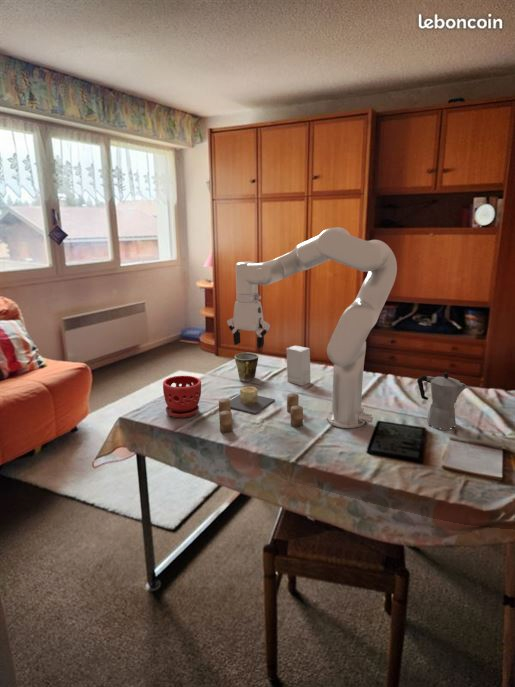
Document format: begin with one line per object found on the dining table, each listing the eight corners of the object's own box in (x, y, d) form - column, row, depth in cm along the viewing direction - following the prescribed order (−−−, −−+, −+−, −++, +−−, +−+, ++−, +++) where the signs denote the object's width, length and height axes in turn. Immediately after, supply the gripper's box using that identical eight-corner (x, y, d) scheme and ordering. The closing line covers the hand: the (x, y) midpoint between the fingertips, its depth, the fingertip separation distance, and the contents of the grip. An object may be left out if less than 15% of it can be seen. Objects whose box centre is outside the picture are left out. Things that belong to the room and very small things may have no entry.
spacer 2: (234, 429, 149) (234, 412, 147) (227, 434, 145) (227, 416, 144) (224, 426, 151) (224, 409, 149) (217, 431, 147) (216, 414, 146)
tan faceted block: (247, 397, 172) (247, 385, 171) (259, 400, 170) (259, 388, 168) (238, 403, 167) (237, 390, 166) (250, 406, 164) (250, 393, 163)
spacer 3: (300, 410, 162) (300, 394, 161) (295, 414, 159) (295, 398, 157) (290, 408, 164) (290, 392, 163) (285, 412, 161) (285, 396, 159)
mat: (274, 400, 171) (274, 399, 171) (255, 414, 159) (255, 412, 159) (243, 393, 178) (243, 392, 178) (222, 406, 166) (222, 404, 166)
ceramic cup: (234, 375, 198) (233, 353, 196) (257, 374, 200) (257, 352, 197) (236, 385, 186) (235, 362, 183) (260, 384, 187) (260, 361, 184)
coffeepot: (465, 423, 151) (471, 372, 146) (458, 434, 143) (465, 380, 138) (418, 412, 159) (422, 363, 154) (409, 422, 152) (414, 371, 147)
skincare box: (310, 382, 189) (311, 348, 184) (301, 386, 184) (301, 351, 180) (295, 377, 194) (295, 344, 190) (285, 381, 190) (286, 347, 186)
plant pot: (187, 423, 153) (185, 390, 150) (157, 415, 159) (154, 383, 156) (209, 409, 164) (208, 377, 161) (180, 402, 170) (178, 372, 167)
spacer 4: (304, 423, 152) (305, 407, 150) (299, 428, 149) (299, 411, 147) (293, 421, 154) (294, 404, 152) (288, 425, 151) (288, 408, 149)
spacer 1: (233, 416, 158) (232, 400, 157) (226, 420, 155) (226, 404, 153) (223, 413, 160) (223, 397, 158) (216, 418, 157) (216, 401, 155)
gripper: (274, 298, 156) (275, 346, 161) (232, 294, 165) (234, 340, 170) (263, 301, 150) (264, 351, 155) (220, 297, 159) (222, 345, 164)
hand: (248, 345), depth 162 cm, fingers open, 9 cm apart
